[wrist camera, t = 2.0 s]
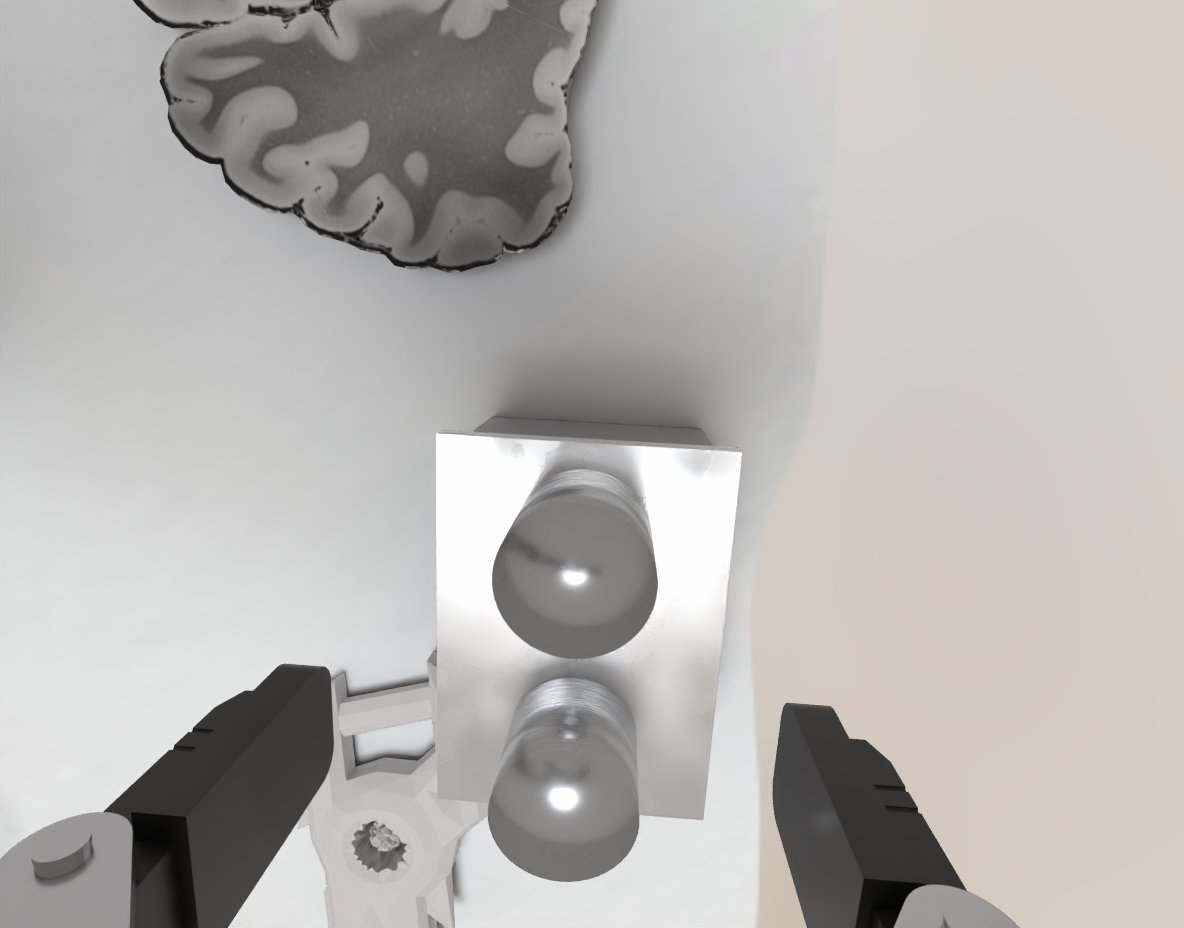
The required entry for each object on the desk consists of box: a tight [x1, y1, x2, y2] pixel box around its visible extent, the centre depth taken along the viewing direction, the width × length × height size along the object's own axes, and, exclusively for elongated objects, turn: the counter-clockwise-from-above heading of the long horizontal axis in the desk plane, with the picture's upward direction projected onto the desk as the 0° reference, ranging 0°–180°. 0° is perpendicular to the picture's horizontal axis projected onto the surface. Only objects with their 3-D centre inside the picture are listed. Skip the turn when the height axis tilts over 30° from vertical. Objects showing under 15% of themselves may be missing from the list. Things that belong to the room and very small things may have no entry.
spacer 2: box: [488, 678, 639, 882], centre depth 21 cm, size 5×5×4 cm
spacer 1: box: [492, 469, 658, 659], centre depth 19 cm, size 5×5×4 cm
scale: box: [473, 417, 713, 446], centre depth 27 cm, size 13×10×6 cm
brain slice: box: [133, 0, 598, 272], centre depth 24 cm, size 20×17×3 cm
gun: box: [298, 651, 489, 928], centre depth 32 cm, size 18×4×10 cm
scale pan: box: [436, 430, 742, 820], centre depth 23 cm, size 14×10×1 cm
